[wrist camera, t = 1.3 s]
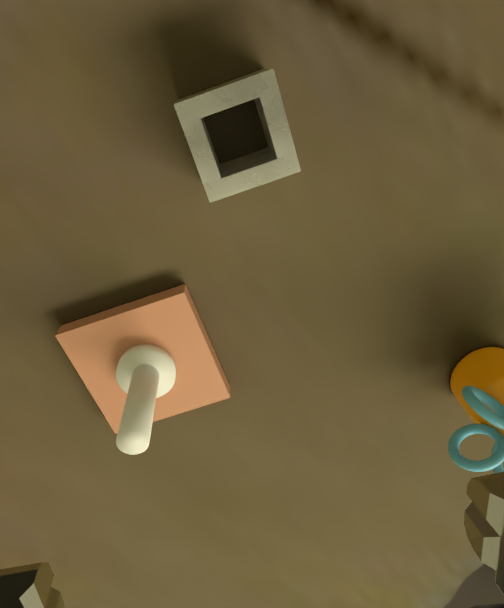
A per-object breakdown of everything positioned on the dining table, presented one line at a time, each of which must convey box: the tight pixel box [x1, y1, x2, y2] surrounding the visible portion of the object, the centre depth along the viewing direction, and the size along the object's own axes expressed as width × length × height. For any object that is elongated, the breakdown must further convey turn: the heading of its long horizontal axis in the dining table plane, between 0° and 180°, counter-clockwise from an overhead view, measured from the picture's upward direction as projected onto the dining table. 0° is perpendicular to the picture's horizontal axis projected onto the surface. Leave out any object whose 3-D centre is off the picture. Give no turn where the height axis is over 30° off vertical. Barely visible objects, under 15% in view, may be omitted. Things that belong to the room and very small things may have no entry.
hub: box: [174, 68, 301, 203], centre depth 28 cm, size 6×6×5 cm
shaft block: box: [55, 284, 230, 455], centre depth 33 cm, size 10×10×10 cm
